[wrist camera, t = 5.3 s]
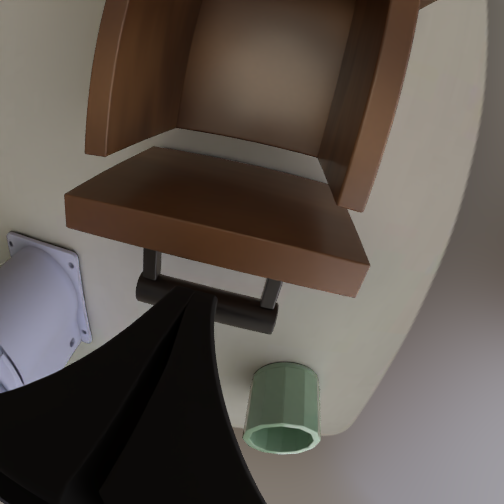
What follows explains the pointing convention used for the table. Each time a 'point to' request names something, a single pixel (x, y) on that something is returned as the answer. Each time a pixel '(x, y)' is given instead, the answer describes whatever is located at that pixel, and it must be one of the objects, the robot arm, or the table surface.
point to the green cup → (283, 409)
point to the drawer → (243, 138)
